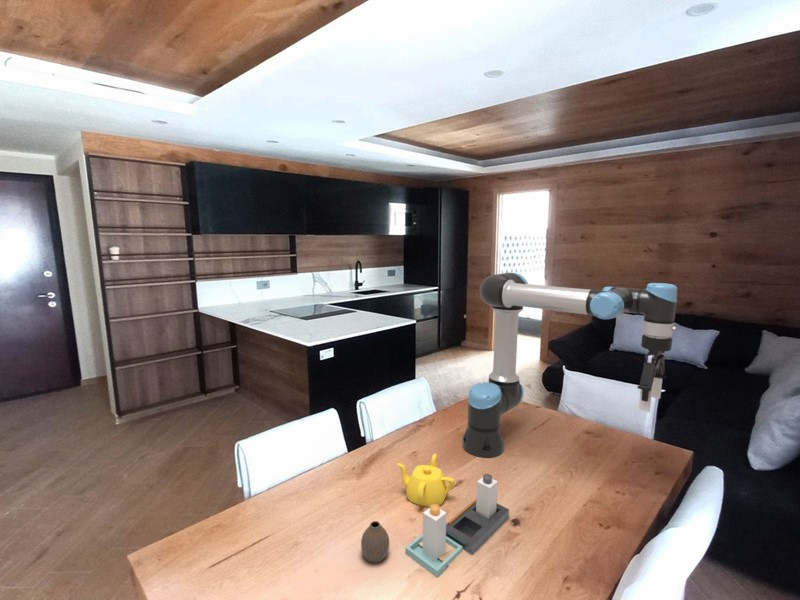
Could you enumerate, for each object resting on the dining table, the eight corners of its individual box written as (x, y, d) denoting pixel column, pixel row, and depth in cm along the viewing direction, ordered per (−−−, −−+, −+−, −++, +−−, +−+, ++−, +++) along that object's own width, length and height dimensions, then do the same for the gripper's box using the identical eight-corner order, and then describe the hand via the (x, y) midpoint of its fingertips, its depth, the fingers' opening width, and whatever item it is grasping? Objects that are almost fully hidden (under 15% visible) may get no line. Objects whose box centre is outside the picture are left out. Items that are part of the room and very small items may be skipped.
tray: (405, 554, 97) (405, 547, 96) (431, 533, 104) (431, 526, 103) (437, 578, 90) (437, 571, 89) (462, 554, 97) (462, 546, 97)
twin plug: (475, 518, 108) (477, 476, 106) (483, 510, 111) (485, 470, 109) (488, 525, 105) (490, 482, 103) (496, 517, 108) (497, 476, 106)
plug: (422, 553, 97) (423, 507, 95) (432, 544, 100) (433, 499, 98) (435, 562, 94) (436, 515, 92) (445, 552, 97) (446, 506, 95)
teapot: (435, 479, 127) (435, 451, 125) (457, 505, 115) (458, 474, 113) (396, 490, 121) (396, 461, 120) (415, 518, 109) (416, 486, 108)
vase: (361, 546, 99) (361, 515, 98) (388, 544, 100) (388, 513, 98) (361, 568, 92) (360, 535, 91) (390, 566, 93) (390, 534, 92)
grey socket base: (442, 539, 102) (443, 525, 101) (480, 505, 115) (481, 493, 114) (472, 558, 96) (472, 544, 95) (508, 521, 108) (509, 508, 108)
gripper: (663, 346, 104) (654, 421, 107) (680, 330, 122) (672, 395, 125) (631, 341, 109) (624, 412, 112) (652, 327, 127) (645, 389, 130)
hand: (649, 403), depth 119 cm, fingers open, 13 cm apart
